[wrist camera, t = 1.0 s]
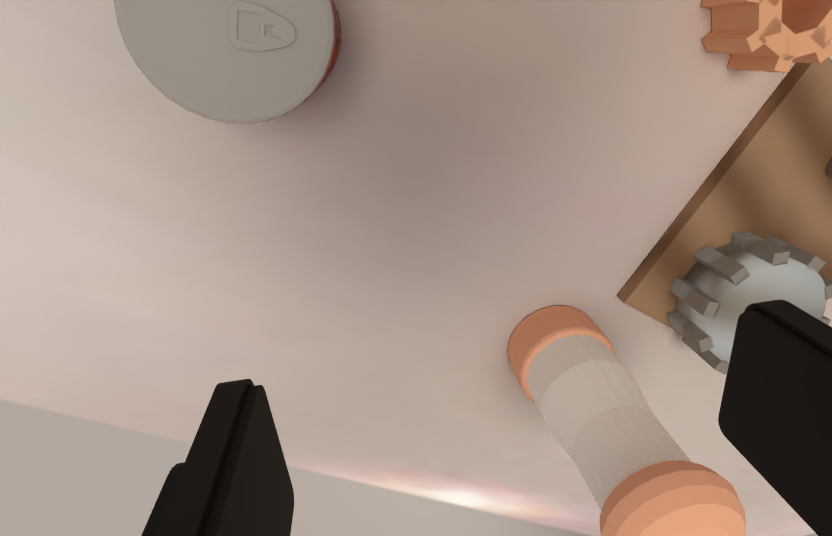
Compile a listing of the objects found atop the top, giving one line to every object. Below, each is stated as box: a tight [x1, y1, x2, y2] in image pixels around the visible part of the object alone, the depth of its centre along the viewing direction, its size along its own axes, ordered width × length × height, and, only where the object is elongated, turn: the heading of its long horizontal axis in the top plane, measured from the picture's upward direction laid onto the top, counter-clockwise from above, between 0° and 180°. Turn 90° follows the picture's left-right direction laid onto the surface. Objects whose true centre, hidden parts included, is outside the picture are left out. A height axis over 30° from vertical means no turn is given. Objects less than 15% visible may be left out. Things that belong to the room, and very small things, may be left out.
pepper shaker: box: [507, 306, 746, 536], centre depth 31 cm, size 7×7×19 cm
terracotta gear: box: [701, 0, 832, 73], centre depth 29 cm, size 7×7×4 cm
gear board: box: [617, 57, 832, 374], centre depth 34 cm, size 20×14×7 cm
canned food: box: [114, 0, 341, 124], centre depth 24 cm, size 8×8×11 cm
